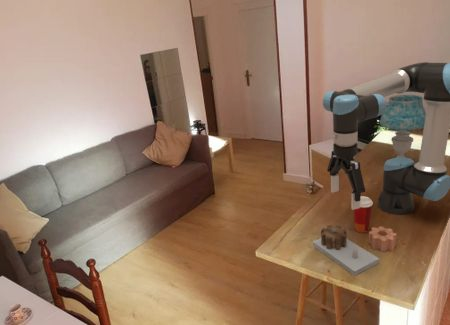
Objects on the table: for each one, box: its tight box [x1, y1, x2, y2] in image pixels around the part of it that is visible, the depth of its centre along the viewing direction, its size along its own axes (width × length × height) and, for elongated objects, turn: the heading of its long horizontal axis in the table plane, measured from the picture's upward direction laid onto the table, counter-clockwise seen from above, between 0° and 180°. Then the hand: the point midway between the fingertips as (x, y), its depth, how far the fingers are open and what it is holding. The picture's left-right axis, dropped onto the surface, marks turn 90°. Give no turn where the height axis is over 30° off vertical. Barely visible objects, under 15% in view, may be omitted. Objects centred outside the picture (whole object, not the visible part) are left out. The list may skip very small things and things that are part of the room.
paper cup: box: [353, 195, 374, 233], centre depth 143 cm, size 8×8×14 cm
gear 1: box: [320, 225, 348, 250], centre depth 135 cm, size 10×10×6 cm
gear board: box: [312, 237, 380, 277], centre depth 131 cm, size 12×22×7 cm, turn 27°
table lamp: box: [379, 94, 426, 158], centre depth 190 cm, size 24×24×40 cm
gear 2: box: [368, 226, 397, 253], centre depth 134 cm, size 10×10×5 cm
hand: (344, 199), depth 121 cm, fingers open, 13 cm apart
